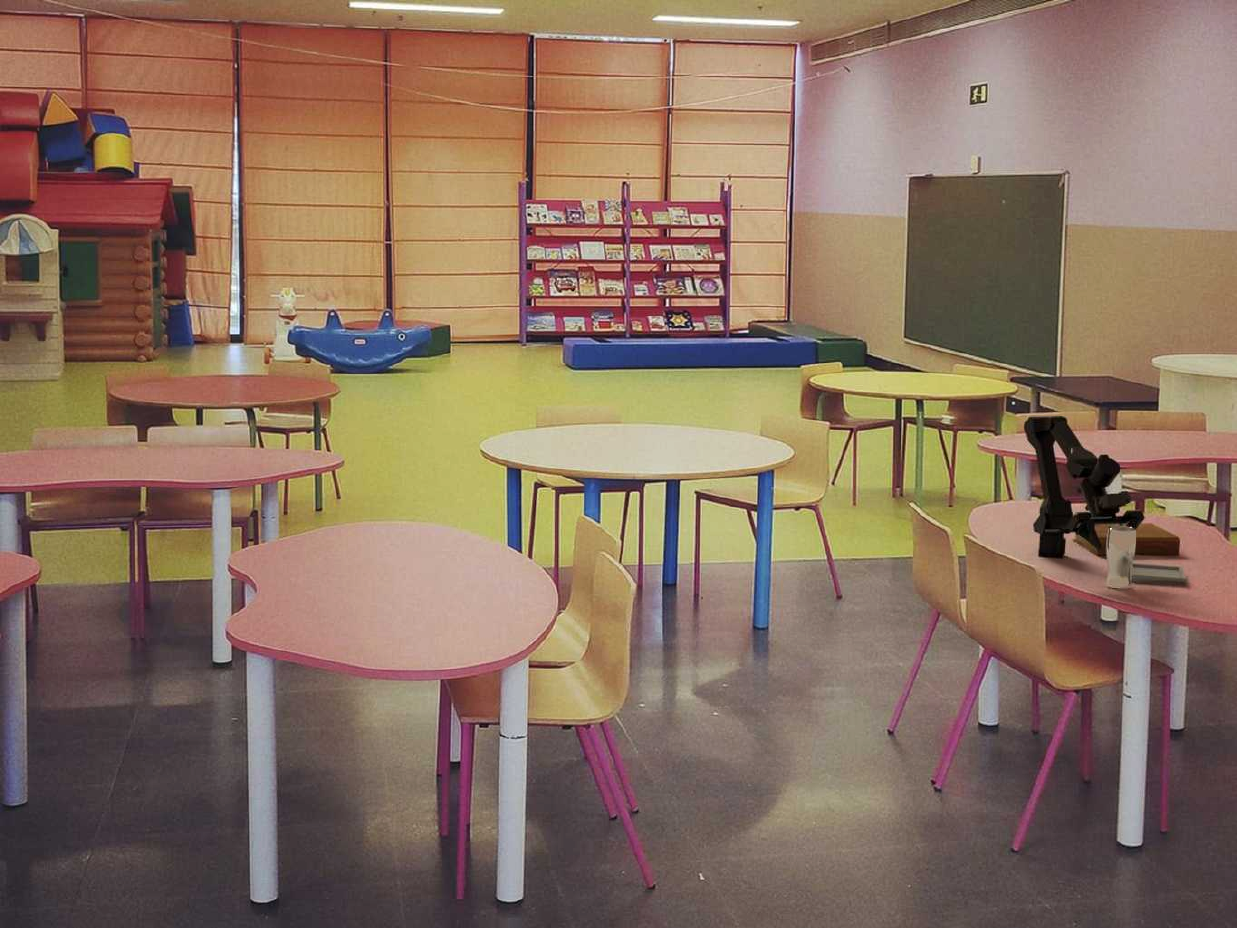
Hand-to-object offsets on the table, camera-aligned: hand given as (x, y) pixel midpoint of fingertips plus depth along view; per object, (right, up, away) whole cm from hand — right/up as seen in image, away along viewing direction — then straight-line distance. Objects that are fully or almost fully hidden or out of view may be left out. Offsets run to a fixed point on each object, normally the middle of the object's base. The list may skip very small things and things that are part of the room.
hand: (1117, 549), depth 349 cm
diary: (+17, -3, +42) cm, 45 cm away
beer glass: (0, -10, 0) cm, 10 cm away
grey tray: (+13, -8, +9) cm, 18 cm away
